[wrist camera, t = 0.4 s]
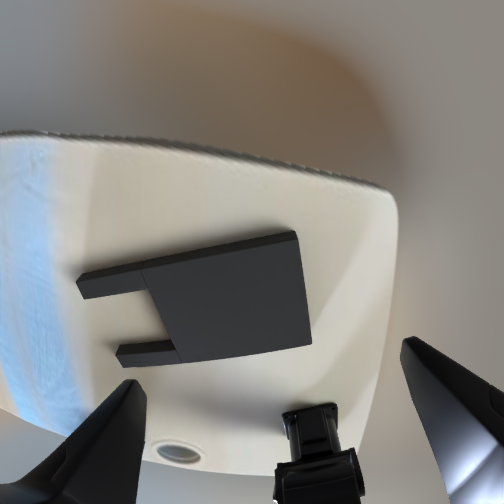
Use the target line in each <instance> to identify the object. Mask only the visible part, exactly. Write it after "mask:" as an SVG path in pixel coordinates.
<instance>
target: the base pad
mask: <svg viewBox="0 0 504 504" xmlns="http://www.w3.org/2000/svg"><path fill="white" fill-rule="evenodd" d="M76 284H77V286H78V288H79V290H80V292H81V294H82V296H83V298H84V299H91V298H97V297H104V296H110V295H116V294H122V293H128V292H134V291H139V290H145V289H149V291H150V293H151V296H152V298H153V300H154V303H155V305H156V307H157V310H158V312H159V314H160V316H161V318H162V321H163V323H164V325H165V327H166V329H167V332H168V334H169V336H170V338H171V340H166V341H157V342H148V343H137V344H127V345H120V346H119V348H118V350H117V352H116V357H117V359H118V360H119V362H120V364H121V365H122V367H123V368H130V367H146V366H160V365H172V364H182V363H192V362H201V361H210V360H218V359H226V358H233V357H240V356H247V355H254V354H260V353H266V352H272V351H278V350H284V349H290V348H295V347H300V346H305V345H311V344H312V337H311V329H310V321H309V313H308V305H307V298H306V290H305V283H304V276H303V269H302V262H301V255H300V248H299V242H298V238H297V235H296V232H295V231H291V232H286V233H280V234H275V235H270V236H265V237H260V238H255V239H249V240H244V241H239V242H234V243H229V244H224V245H219V246H214V247H209V248H204V249H199V250H194V251H189V252H184V253H179V254H174V255H169V256H164V257H159V258H154V259H150V260H146V261H140V262H135V263H130V264H126V265H121V266H116V267H111V268H106V269H102V270H97V271H92V272H88V273H83V274H82V275H81V276H80V277H79V279H78V280H77V281H76Z"/></svg>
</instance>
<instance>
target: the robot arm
mask: <svg viewBox="0 0 504 504" xmlns="http://www.w3.org/2000/svg"><path fill="white" fill-rule="evenodd" d="M400 361H401V365H402V368H403V371H404V374H405V378H406V381H407V384H408V387H409V391H410V394H411V398H412V401H413V403H414V405H415V408H416V410H417V413H418V415H419V417H420V420H421V422H422V425H423V427H424V430H425V432H426V435H427V437H428V440H429V443H430V445H431V448H432V451H433V453H434V456H435V459H436V461H437V464H438V467H439V470H440V472H441V475H442V478H443V481H444V484H445V487H446V490H447V493H448V495H449V500H450V503H451V504H504V392H502V391H500V390H499V389H497V388H496V387H494V386H493V385H490V384H489V383H488V382H486V381H485V380H483V379H482V378H480V377H478V376H477V375H475V374H474V373H472V372H471V371H469V370H468V369H466V368H465V367H463V366H461V365H460V364H458V363H457V362H455V361H454V360H452V359H450V358H449V357H447V356H446V355H444V354H443V353H441V352H440V351H438V350H436V349H435V348H433V347H432V346H430V345H428V344H427V343H425V342H424V341H422V340H421V339H419V338H417V337H415V336H412V337H408V338H405V339H404V340H403V342H402V348H401V353H400ZM146 407H147V397H146V394H145V392H144V390H143V389H142V387H141V386H140V384H139V383H138V381H137V380H135V379H127V380H124V381H123V382H122V383H121V384H120V385H119V386H118V387H117V388H116V389H115V390H114V391H113V392H112V393H111V394H110V395H109V396H108V397H107V398H106V399H105V400H104V401H103V402H102V403H101V404H100V405H99V406H98V407H97V408H96V410H95V411H94V412H93V413H92V414H91V415H90V416H89V417H88V418H87V419H86V420H85V421H84V422H83V423H82V424H81V425H80V426H79V427H78V428H77V429H76V430H75V431H74V432H73V433H72V434H71V435H70V436H69V437H68V438H67V439H66V440H65V441H64V442H63V443H62V444H61V445H60V446H59V447H58V448H57V449H56V450H55V451H54V452H53V453H51V454H50V455H49V456H48V457H47V458H46V459H45V460H44V461H42V462H41V463H40V464H39V465H38V466H36V467H35V468H34V469H33V470H31V471H30V472H29V473H28V474H27V475H25V476H24V477H23V478H21V479H20V480H18V481H16V482H13V483H9V484H0V504H136V497H137V489H138V481H139V473H140V466H141V459H142V452H143V446H144V439H145V426H146ZM282 420H283V424H284V428H285V431H286V435H287V439H288V440H289V441H290V450H291V459H292V462H287V463H277V469H275V487H274V492H273V500H274V501H275V502H276V503H278V504H361V501H360V497H362V496H365V487H364V481H363V476H362V473H361V469H360V466H359V462H358V459H357V455H356V452H355V449H354V447H353V448H349V449H348V450H344V451H341V447H340V442H339V438H338V433H337V429H338V407H337V404H329V405H324V406H319V407H314V408H309V409H304V410H298V411H292V412H286V413H283V414H282Z"/></svg>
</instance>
